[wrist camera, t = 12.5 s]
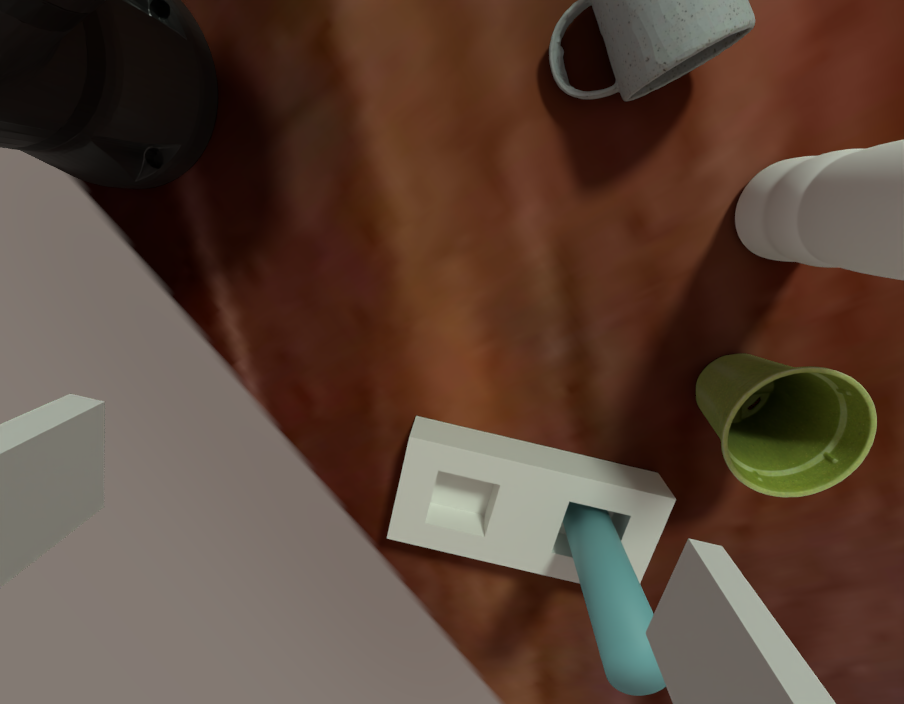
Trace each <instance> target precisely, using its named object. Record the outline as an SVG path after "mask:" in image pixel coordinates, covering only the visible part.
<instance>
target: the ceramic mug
mask: <svg viewBox="0 0 904 704" xmlns="http://www.w3.org/2000/svg"><path fill="white" fill-rule="evenodd" d="M591 5H592V8H593V11H594V13H595V16H596V20H597V22H598V25H599V29H600V33H601V35H602V36H603V39H604V42H605V46H606V49H607V53H608V56H609V60H610V63H611V66H612V69H613V73H614V75H615V79H616V81H615V84H614V85H612V86H611V87H609V88H606V89H601V90H596V91H589V92H588V91H581V90H578V89H575V88H574V87H572V86H571V85H570V84H569V80H568V77H567V73H566V70H565V66H564V60H563V55H564V50H563V48H562V47H561V46H560V45H561V40H562V37H563V35H564V33H565V31H566V29H567V27H568V26H569V25H570V24H571V23H572V22H573V20H574V19H575V18H576V17H577V16H578V15H579V14H580V13H581V12H582V11H583V10H585V9H586V8H588V7H589V6H591ZM754 26H755V17H754V14H753V11H752V9H751V6H750V4H749V1H748V0H578V1H577V2H575V3H573V5H572V6H571V7H570V8H569V9H568V10H567V11H566V12H565V13H564V14H563V16H562V17H561V19H560V20H559V21H558V23H557V25H556V26H555V29H554V32H553V35H552V37H551V42H550V47H549V62H550V68H551V71H552V75H553V78H554V80H555V82H556V83H557V85H558V87H559V88H560V89H561V90H562V91H564V92H565V93H566V94H567V95H570V96H573V97H576V98H580V99H598V98H602V97H606V96H610V95H613V94H615V93H617V92H620V94H621V97H622V99H623V100H624V101H631V100H634V99H637V98H640V97H642V96H645V95H646V94H648V93H650V92H652V91H654V90H656V89H659V88H661V87H663V86H665V85H666V84H668V83H670V82H672V81H674V80H676V79H678V78H680V77H681V76H683V75H685V74H687V73H688V72H690V71H692V70H693V69H695V68H697V67H699V66H700V65H702V64H704V63H705V62H707V61H708V60H710V59H712V58H714V57H715V56H717V55H719V54H720V53H721V52H723V51H724V50H726V49H727V48H729V47H730V46H732V45H733V44H734V43H736V42H737V41H738V40H740V39H741V38H743V37H744V36H745V35H746V34H748V33H749V32H750V31H751V30H752V29H753V28H754Z"/></svg>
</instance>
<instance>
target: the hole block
mask: <svg viewBox="0 0 904 704" xmlns="http://www.w3.org/2000/svg"><path fill="white" fill-rule="evenodd" d="M569 501H570V502H574V503H578V504H583V505H587V506H591V507H595V508H600V509H604V510H607V511H608V513H609V516H610V518H611V520H612V522H613V525H614V527H615V529H616V531H617V533H618V536H619V538H620V540H621V542H622V545H623V547H624V549H625V551H626V554H627V556H628V558H629V560H630V563H631V565H632V567H633V569H634V572H635V574H636V576H637V578H638V581H639V583H640V582H641V580H642V577H643V575H644V573H645V571H646V568H647V566H648V564H649V561H650V559H651V557H652V554H653V552H654V550H655V547H656V545H657V543H658V540H659V538H660V536H661V534H662V531H663V529H664V527H665V524H666V522H667V520H668V517H669V515H670V513H671V510H672V508H673V506H674V503H675V501H676V498H675V497H674V495H673V494H672V492H671V491H670V490H669V488H668V487H667V485H666V484H665V482H664V481H663V479H662V478H661V476H660V475H659V473H657V472H652V471H648V470H644V469H640V468H635V467H631V466H627V465H623V464H618V463H614V462H610V461H606V460H601V459H597V458H593V457H589V456H584V455H580V454H576V453H572V452H568V451H563V450H559V449H555V448H551V447H546V446H542V445H538V444H534V443H529V442H525V441H521V440H517V439H512V438H508V437H504V436H500V435H495V434H491V433H487V432H483V431H478V430H474V429H470V428H466V427H462V426H457V425H453V424H449V423H445V422H440V421H436V420H432V419H428V418H423V417H419V416H416V418H415V421H414V424H413V427H412V430H411V433H410V436H409V441H408V445H407V450H406V454H405V458H404V463H403V467H402V472H401V476H400V481H399V485H398V490H397V494H396V499H395V503H394V508H393V512H392V517H391V521H390V526H389V530H388V535H387V539H391V540H395V541H400V542H404V543H408V544H412V545H417V546H421V547H425V548H430V549H434V550H438V551H442V552H447V553H451V554H455V555H460V556H464V557H468V558H472V559H477V560H481V561H485V562H489V563H494V564H498V565H502V566H507V567H511V568H515V569H519V570H524V571H528V572H532V573H537V574H541V575H545V576H549V577H554V578H558V579H562V580H566V581H571V582H575V583H579V584H580V581H579V578H578V574H577V571H576V567H575V563H574V560H573V556H572V553H571V549H570V546H569V542H568V539H567V535H566V531H565V528H564V524H563V518H564V515H565V512H566V510H567V507H568V504H569Z"/></svg>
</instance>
